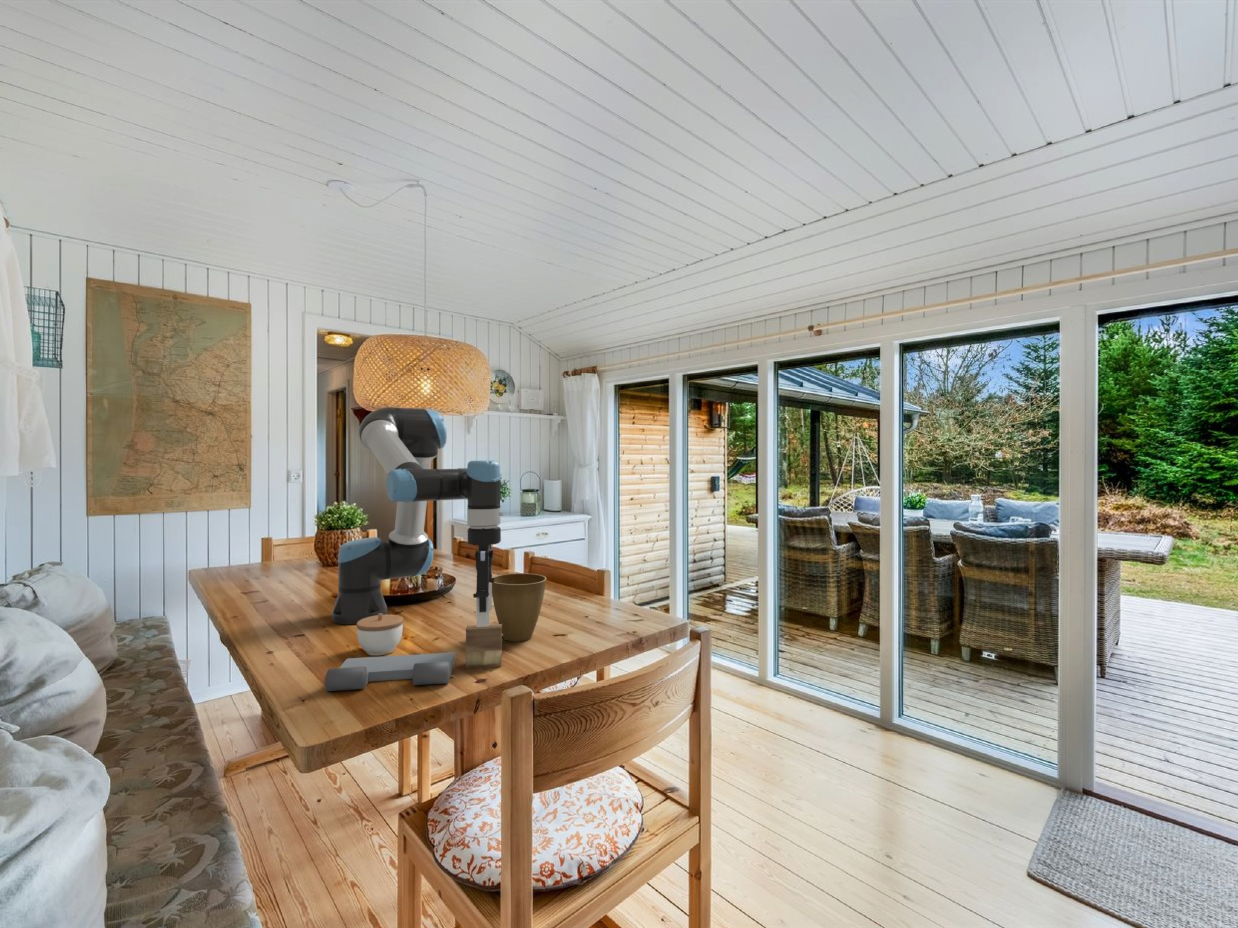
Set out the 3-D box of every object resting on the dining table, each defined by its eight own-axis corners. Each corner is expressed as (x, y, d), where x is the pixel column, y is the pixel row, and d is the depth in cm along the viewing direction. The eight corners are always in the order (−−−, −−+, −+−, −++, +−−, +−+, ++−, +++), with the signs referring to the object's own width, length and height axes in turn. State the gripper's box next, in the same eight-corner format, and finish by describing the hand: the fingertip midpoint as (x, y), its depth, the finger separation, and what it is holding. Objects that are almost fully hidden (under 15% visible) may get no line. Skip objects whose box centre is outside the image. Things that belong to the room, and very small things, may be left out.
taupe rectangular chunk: (467, 662, 132) (467, 624, 132) (501, 660, 133) (501, 623, 133) (465, 669, 127) (465, 630, 127) (501, 667, 129) (501, 628, 129)
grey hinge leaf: (447, 686, 118) (447, 665, 118) (324, 694, 114) (324, 673, 114) (454, 660, 133) (454, 642, 133) (347, 667, 129) (346, 648, 128)
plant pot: (535, 648, 142) (535, 585, 141) (480, 644, 145) (480, 582, 144) (553, 630, 156) (553, 573, 156) (503, 627, 159) (503, 571, 159)
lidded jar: (412, 648, 141) (412, 611, 141) (375, 661, 132) (374, 622, 132) (385, 641, 147) (385, 605, 146) (347, 653, 137) (347, 615, 137)
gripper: (499, 532, 118) (499, 632, 118) (502, 520, 143) (502, 603, 143) (462, 533, 117) (463, 634, 117) (471, 521, 141) (472, 605, 141)
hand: (484, 617), depth 130 cm, fingers open, 13 cm apart
